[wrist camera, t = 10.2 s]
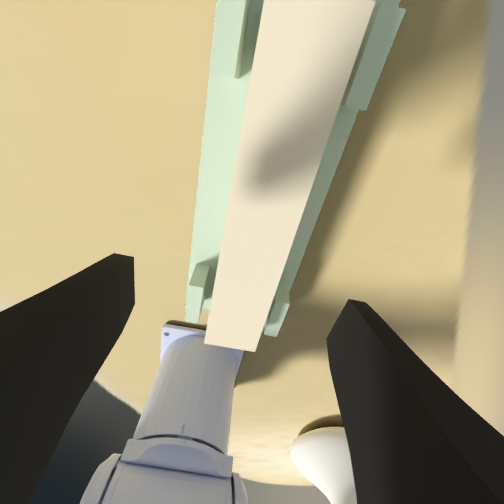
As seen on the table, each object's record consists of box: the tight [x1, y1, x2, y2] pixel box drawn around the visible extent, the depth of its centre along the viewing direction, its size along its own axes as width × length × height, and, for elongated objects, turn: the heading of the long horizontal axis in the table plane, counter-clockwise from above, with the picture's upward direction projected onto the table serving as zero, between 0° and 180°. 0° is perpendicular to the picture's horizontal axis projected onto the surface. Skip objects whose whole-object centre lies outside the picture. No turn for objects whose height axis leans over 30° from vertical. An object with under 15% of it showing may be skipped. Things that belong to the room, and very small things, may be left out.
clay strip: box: [204, 0, 376, 352], centre depth 15 cm, size 18×4×4 cm, turn 168°
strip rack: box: [185, 0, 406, 337], centre depth 16 cm, size 21×8×4 cm, turn 168°
